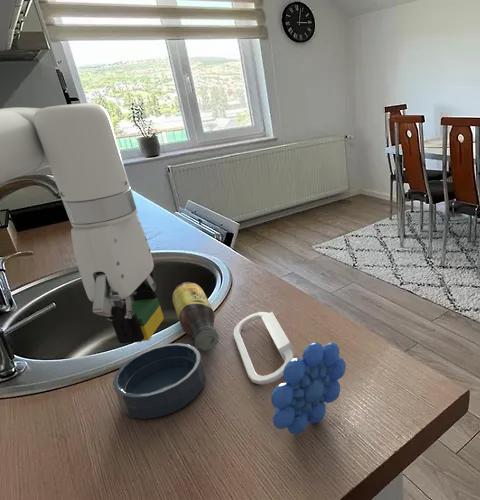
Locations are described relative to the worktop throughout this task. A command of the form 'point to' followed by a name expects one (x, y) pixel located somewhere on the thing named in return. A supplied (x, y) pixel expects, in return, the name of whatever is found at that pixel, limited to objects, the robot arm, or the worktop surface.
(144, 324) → the sponge
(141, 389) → the bowl
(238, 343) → the oval loop handle
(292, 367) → the blue flower ornament
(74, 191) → the robot arm
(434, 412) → the worktop surface
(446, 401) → the worktop surface
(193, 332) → the sauce bottle
